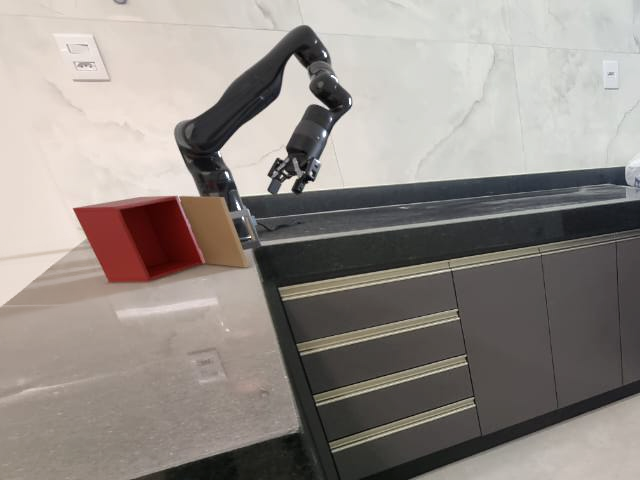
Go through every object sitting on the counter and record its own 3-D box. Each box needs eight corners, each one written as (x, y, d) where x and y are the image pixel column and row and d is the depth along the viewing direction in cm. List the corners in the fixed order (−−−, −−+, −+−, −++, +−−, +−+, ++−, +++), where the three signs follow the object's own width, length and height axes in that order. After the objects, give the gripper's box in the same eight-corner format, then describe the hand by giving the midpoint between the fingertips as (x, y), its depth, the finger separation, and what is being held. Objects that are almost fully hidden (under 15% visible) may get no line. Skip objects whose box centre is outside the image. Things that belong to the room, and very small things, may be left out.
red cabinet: (205, 263, 133) (177, 195, 126) (148, 281, 119) (114, 206, 112) (169, 264, 134) (139, 196, 127) (109, 282, 120) (72, 208, 113)
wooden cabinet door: (233, 256, 138) (208, 192, 131) (272, 260, 133) (249, 193, 126) (205, 263, 133) (178, 196, 126) (245, 267, 127) (219, 197, 120)
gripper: (339, 151, 142) (315, 202, 137) (300, 152, 146) (276, 201, 142) (316, 131, 135) (290, 184, 130) (276, 132, 140) (250, 183, 135)
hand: (283, 193), depth 136 cm, fingers open, 8 cm apart
